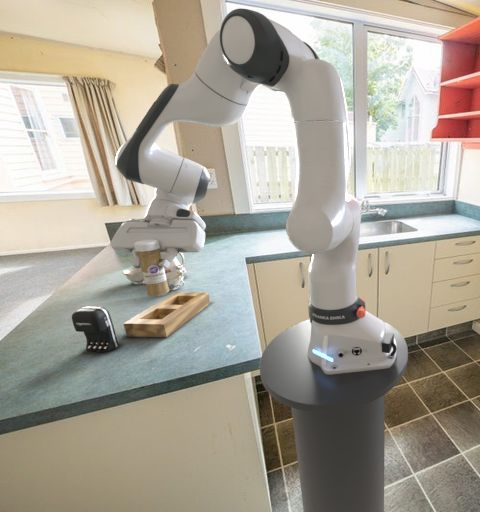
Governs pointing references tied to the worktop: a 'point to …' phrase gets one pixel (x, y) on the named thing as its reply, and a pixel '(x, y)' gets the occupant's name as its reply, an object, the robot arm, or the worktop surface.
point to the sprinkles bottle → (151, 267)
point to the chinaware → (172, 273)
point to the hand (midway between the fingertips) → (150, 267)
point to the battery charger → (96, 328)
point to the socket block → (166, 315)
